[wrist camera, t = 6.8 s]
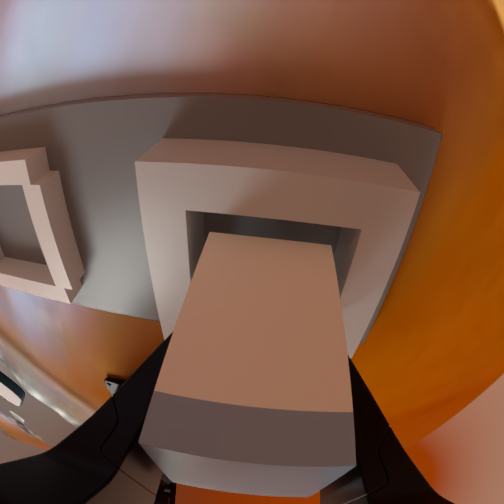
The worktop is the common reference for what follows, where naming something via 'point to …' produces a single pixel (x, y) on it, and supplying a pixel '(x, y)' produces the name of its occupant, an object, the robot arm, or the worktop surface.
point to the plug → (256, 373)
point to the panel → (136, 131)
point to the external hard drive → (11, 390)
